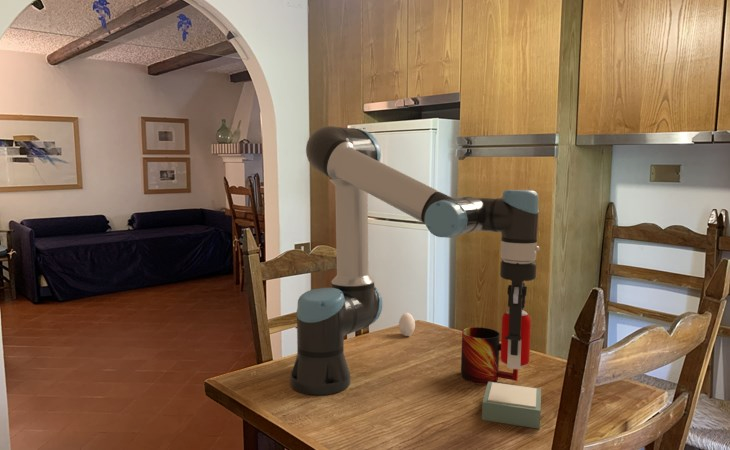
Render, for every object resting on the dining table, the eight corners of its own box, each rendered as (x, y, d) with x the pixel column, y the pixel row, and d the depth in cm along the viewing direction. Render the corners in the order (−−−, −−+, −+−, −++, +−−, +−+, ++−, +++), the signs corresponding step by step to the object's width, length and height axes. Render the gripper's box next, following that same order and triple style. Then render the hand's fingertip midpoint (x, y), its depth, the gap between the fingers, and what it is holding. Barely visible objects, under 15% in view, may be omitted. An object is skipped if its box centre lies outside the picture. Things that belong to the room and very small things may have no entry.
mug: (518, 385, 134) (520, 339, 133) (463, 383, 135) (464, 338, 134) (509, 371, 144) (511, 328, 143) (458, 369, 145) (459, 326, 143)
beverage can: (500, 368, 116) (502, 314, 115) (500, 358, 122) (502, 307, 121) (529, 370, 114) (532, 316, 113) (528, 360, 120) (530, 309, 119)
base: (481, 419, 116) (482, 400, 115) (487, 397, 127) (488, 380, 126) (539, 428, 112) (540, 409, 111) (540, 405, 123) (541, 387, 123)
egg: (418, 336, 172) (418, 313, 171) (404, 339, 170) (404, 316, 169) (408, 332, 177) (409, 310, 176) (395, 334, 174) (395, 312, 173)
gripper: (535, 269, 105) (531, 381, 108) (537, 255, 124) (533, 351, 126) (496, 267, 108) (493, 376, 110) (504, 253, 126) (500, 347, 128)
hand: (514, 362), depth 118 cm, fingers closed on beverage can, 6 cm apart
